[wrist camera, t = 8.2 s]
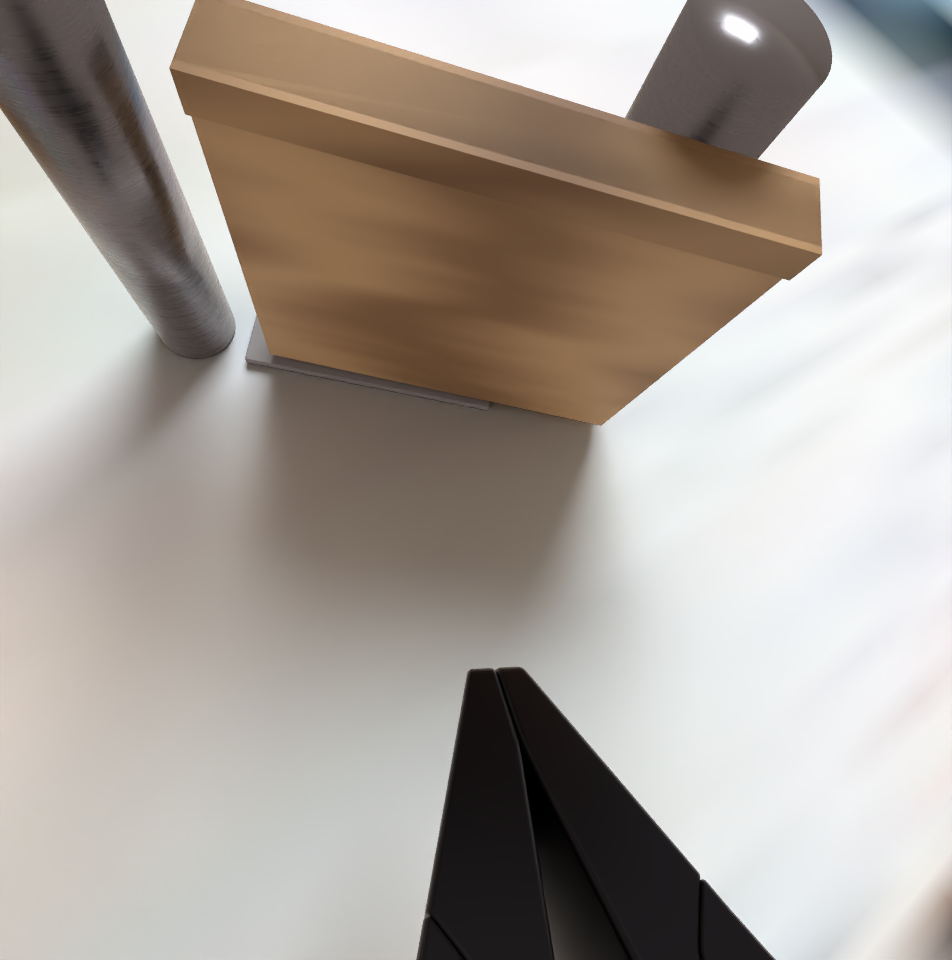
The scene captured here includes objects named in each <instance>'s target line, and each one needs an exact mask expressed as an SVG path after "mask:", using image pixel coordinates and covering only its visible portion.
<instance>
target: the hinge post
mask: <svg viewBox="0 0 952 960" xmlns="http://www.w3.org/2000/svg"><path fill="white" fill-rule="evenodd" d="M0 108H1V110H2V111H3V113H4V114H5V116H6V117H7V119H8V120H9V121H10V123H11V124H12V126H13V127H14V129H15V130H16V131H17V133H18V134H19V136H20V137H21V139H22V140H23V142H24V143H25V144H26V146H27V147H28V149H29V150H30V152H31V153H32V154H33V156H34V157H35V159H36V160H37V162H38V163H39V164H40V166H41V167H42V169H43V170H44V172H45V173H46V175H47V176H48V177H49V179H50V180H51V182H52V183H53V185H54V186H55V187H56V189H57V190H58V192H59V193H60V195H61V196H62V198H63V199H64V200H65V202H66V203H67V205H68V206H69V208H70V209H71V210H72V212H73V213H74V215H75V216H76V218H77V219H78V221H79V222H80V223H81V225H82V226H83V228H84V229H85V231H86V232H87V233H88V235H89V236H90V238H91V239H92V241H93V242H94V243H95V245H96V246H97V248H98V249H99V251H100V252H101V254H102V255H103V256H104V258H105V259H106V261H107V262H108V264H109V265H110V266H111V268H112V269H113V271H114V272H115V274H116V275H117V277H118V278H119V279H120V281H121V282H122V284H123V285H124V287H125V288H126V289H127V291H128V292H129V294H130V295H131V297H132V298H133V300H134V301H135V302H136V304H137V305H138V307H139V308H140V310H141V311H142V312H143V314H144V315H145V317H146V318H147V320H148V321H149V322H150V324H151V325H152V327H153V328H154V330H155V331H156V333H157V334H158V335H159V337H160V338H161V340H162V341H163V343H164V344H165V345H166V346H167V347H168V348H169V349H170V350H171V351H173V352H174V353H176V354H178V355H181V356H183V357H187V358H196V359H198V358H206V357H210V356H213V355H215V354H217V353H219V352H221V351H222V350H223V349H225V348H226V347H227V346H228V344H229V343H230V342H231V340H232V338H233V336H234V332H235V320H234V317H233V314H232V312H231V310H230V307H229V305H228V302H227V300H226V297H225V295H224V292H223V290H222V287H221V285H220V283H219V280H218V278H217V275H216V273H215V270H214V268H213V265H212V263H211V261H210V258H209V256H208V253H207V251H206V248H205V246H204V243H203V241H202V239H201V236H200V234H199V231H198V229H197V226H196V224H195V221H194V219H193V217H192V214H191V212H190V209H189V207H188V204H187V202H186V199H185V197H184V194H183V192H182V190H181V187H180V185H179V182H178V180H177V177H176V175H175V172H174V170H173V168H172V165H171V163H170V160H169V158H168V155H167V153H166V150H165V148H164V146H163V143H162V141H161V138H160V136H159V133H158V131H157V128H156V126H155V123H154V121H153V119H152V116H151V114H150V111H149V109H148V106H147V104H146V101H145V99H144V97H143V94H142V92H141V89H140V87H139V84H138V82H137V79H136V77H135V75H134V72H133V70H132V67H131V65H130V62H129V60H128V57H127V55H126V52H125V50H124V48H123V45H122V43H121V40H120V38H119V35H118V33H117V30H116V28H115V26H114V23H113V21H112V18H111V16H110V13H109V11H108V8H107V6H106V4H105V1H104V0H0Z"/></svg>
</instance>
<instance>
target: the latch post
mask: <svg viewBox="0 0 952 960" xmlns="http://www.w3.org/2000/svg"><path fill="white" fill-rule="evenodd" d="M831 64H832V51H831V45H830V41H829V38H828V35H827V33H826V31H825V29H824V27H823V25H822V23H821V21H820V20H819V18H818V17H817V15H816V14H815V13H814V12H813V10H812V9H811V8H810V7H809V6H808V5H807V3H806V2H805V1H804V0H687V2H686V4H685V6H684V8H683V9H682V11H681V13H680V15H679V17H678V19H677V21H676V23H675V25H674V27H673V28H672V30H671V32H670V34H669V36H668V38H667V40H666V42H665V44H664V45H663V47H662V49H661V51H660V53H659V55H658V57H657V59H656V61H655V62H654V64H653V66H652V68H651V70H650V72H649V74H648V76H647V78H646V79H645V81H644V83H643V85H642V87H641V89H640V91H639V93H638V95H637V96H636V98H635V100H634V102H633V104H632V106H631V108H630V110H629V112H628V113H627V115H626V117H625V118H626V119H629V120H632V121H635V122H639V123H642V124H645V125H648V126H651V127H655V128H658V129H661V130H664V131H668V132H671V133H674V134H677V135H680V136H684V137H687V138H690V139H693V140H696V141H700V142H703V143H706V144H709V145H713V146H716V147H718V148H722V149H725V150H729V151H732V152H735V153H738V154H742V155H745V156H748V157H751V158H754V159H758V158H759V157H760V156H761V154H762V153H763V152H764V151H765V150H766V149H767V147H768V146H769V145H770V144H771V143H772V142H773V140H774V139H775V138H776V137H777V136H778V135H779V133H780V132H781V131H782V130H783V129H784V128H785V126H786V125H787V124H788V123H789V122H790V121H791V120H792V118H793V117H794V116H795V115H796V114H797V113H798V111H799V110H800V109H801V108H802V107H803V106H804V104H805V103H806V102H807V101H808V100H809V99H810V97H811V96H812V95H813V94H814V93H815V92H816V90H817V89H818V88H819V87H820V86H821V85H822V84H823V82H824V81H825V80H826V78H827V76H828V74H829V72H830V69H831Z"/></svg>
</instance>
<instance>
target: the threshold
mask: <svg viewBox="0 0 952 960" xmlns="http://www.w3.org/2000/svg"><path fill="white" fill-rule="evenodd" d="M245 359H246V361H247V362H248V363H253V364H258V365H263V366H268V367H273V368H278V369H283V370H288V371H293V372H298V373H303V374H308V375H313V376H318V377H323V378H328V379H333V380H338V381H343V382H348V383H353V384H358V385H363V386H368V387H373V388H378V389H383V390H388V391H393V392H398V393H403V394H408V395H413V396H418V397H423V398H428V399H433V400H438V401H443V402H448V403H453V404H458V405H463V406H468V407H473V408H478V409H483V410H488V408H489V403H490V401H485V400H480V399H476V398H471V397H467V396H462V395H457V394H453V393H448V392H443V391H439V390H434V389H429V388H425V387H420V386H416V385H411V384H406V383H402V382H397V381H392V380H388V379H383V378H378V377H374V376H369V375H364V374H360V373H355V372H351V371H346V370H341V369H337V368H332V367H327V366H323V365H318V364H313V363H309V362H304V361H300V360H295V359H290V358H286V357H281V356H276V355H272V354H270V353H269V350H268V347H267V344H266V341H265V338H264V335H263V332H262V329H261V326H260V323H259V320H258V317H257V316H256V319H255V323H254V327H253V331H252V334H251V338H250V342H249V346H248V349H247V353H246V357H245Z"/></svg>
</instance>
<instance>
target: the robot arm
mask: <svg viewBox="0 0 952 960" xmlns="http://www.w3.org/2000/svg"><path fill="white" fill-rule="evenodd" d="M416 960H775V959H774V958H773V957H772V955H771V954H770V953H769V952H768V951H767V950H766V949H765V948H764V947H763V946H762V944H761V943H760V942H759V941H758V940H757V939H756V938H755V937H754V935H753V934H752V933H751V932H750V931H749V930H748V929H747V928H746V926H745V925H744V924H743V923H742V922H741V921H740V920H739V919H738V917H737V916H736V915H735V914H734V913H733V912H732V911H731V910H730V909H729V907H728V906H727V905H726V904H725V903H724V902H723V900H722V899H721V898H720V897H719V896H718V894H717V893H716V892H715V891H714V890H713V889H712V887H711V886H710V885H709V884H708V883H707V882H706V881H705V880H703V879H702V880H700V874H699V873H698V871H697V870H696V869H695V868H694V867H693V866H692V864H691V863H690V862H689V861H688V860H687V859H686V857H685V856H684V855H683V854H682V853H681V852H680V850H679V849H678V848H677V847H676V846H675V845H674V843H673V842H672V841H671V840H670V839H669V838H668V836H667V835H666V834H665V833H664V832H663V831H662V829H661V828H660V827H659V826H658V825H657V824H656V822H655V821H654V820H653V819H652V818H651V817H650V815H649V814H648V813H647V812H646V811H645V809H644V808H643V807H642V806H641V805H640V804H639V802H638V801H637V800H636V799H635V798H634V797H633V795H632V794H631V793H630V792H629V791H628V790H627V788H626V787H625V786H624V785H623V784H622V783H621V781H620V780H619V779H618V778H617V777H616V776H615V774H614V773H613V772H612V771H611V770H610V769H609V767H608V766H607V765H606V764H605V763H604V762H603V760H602V759H601V758H600V757H599V756H598V755H597V753H596V752H595V751H594V750H593V749H592V748H591V746H590V745H589V744H588V743H587V742H586V741H585V739H584V738H583V737H582V736H581V735H580V734H579V732H578V731H577V730H576V729H575V728H574V727H573V725H572V724H571V723H570V722H569V721H568V719H567V718H566V717H565V716H564V715H563V714H562V712H561V711H560V710H559V709H558V708H557V707H556V705H555V704H554V703H553V702H552V701H551V700H550V698H549V697H548V696H547V695H546V694H545V693H544V691H543V690H542V689H541V688H540V687H539V686H538V684H537V683H536V682H535V681H534V680H533V679H532V677H531V676H530V675H529V674H528V673H527V672H526V671H525V670H524V669H523V668H521V667H505V668H498V669H496V671H495V670H494V669H491V668H484V669H470V670H469V671H468V673H467V678H466V684H465V689H464V695H463V701H462V706H461V712H460V718H459V723H458V729H457V735H456V740H455V746H454V752H453V757H452V763H451V769H450V774H449V780H448V786H447V791H446V797H445V803H444V808H443V814H442V820H441V825H440V831H439V837H438V842H437V848H436V854H435V859H434V865H433V871H432V876H431V882H430V888H429V893H428V899H427V905H426V910H425V917H424V921H423V925H422V931H421V937H420V942H419V948H418V954H417V959H416Z"/></svg>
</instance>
